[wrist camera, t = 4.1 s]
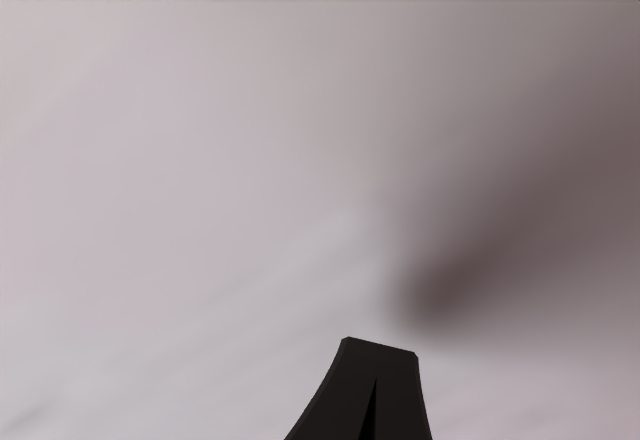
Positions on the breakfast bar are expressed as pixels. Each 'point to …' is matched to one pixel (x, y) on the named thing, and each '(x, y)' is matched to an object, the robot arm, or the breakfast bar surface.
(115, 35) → the breakfast bar surface
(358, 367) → the robot arm
